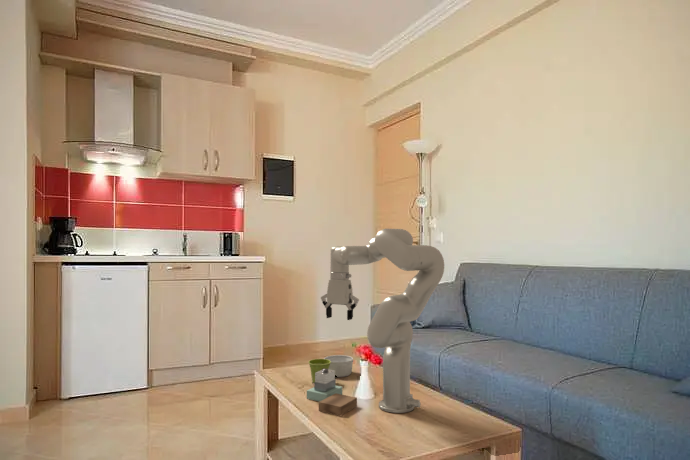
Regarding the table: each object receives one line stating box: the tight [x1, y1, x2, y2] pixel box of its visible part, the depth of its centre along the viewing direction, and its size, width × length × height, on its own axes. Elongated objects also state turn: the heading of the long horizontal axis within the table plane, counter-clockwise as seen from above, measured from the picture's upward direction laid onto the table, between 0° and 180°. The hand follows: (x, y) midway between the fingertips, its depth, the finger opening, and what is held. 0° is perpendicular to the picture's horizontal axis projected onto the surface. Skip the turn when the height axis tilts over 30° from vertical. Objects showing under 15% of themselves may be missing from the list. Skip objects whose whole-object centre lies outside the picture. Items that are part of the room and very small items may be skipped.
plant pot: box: [308, 358, 331, 384], centre depth 193 cm, size 9×9×9 cm
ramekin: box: [323, 354, 354, 378], centre depth 206 cm, size 13×13×7 cm
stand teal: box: [306, 385, 343, 402], centre depth 175 cm, size 9×11×3 cm
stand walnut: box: [318, 393, 358, 417], centre depth 162 cm, size 9×11×3 cm
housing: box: [313, 369, 337, 392], centre depth 175 cm, size 5×7×7 cm
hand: (339, 318), depth 188 cm, fingers open, 9 cm apart
